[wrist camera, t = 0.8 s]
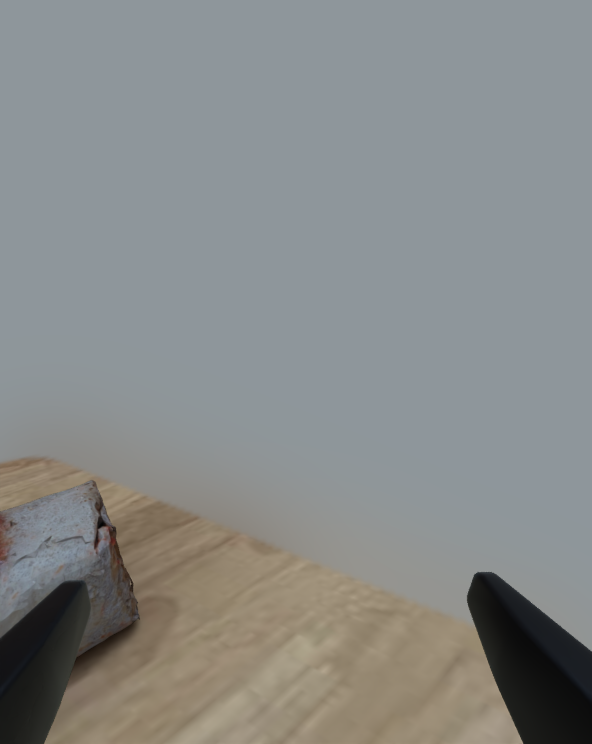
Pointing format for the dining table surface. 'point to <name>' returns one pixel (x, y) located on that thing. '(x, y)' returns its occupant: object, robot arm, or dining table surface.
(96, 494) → the food item
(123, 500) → the dining table surface
